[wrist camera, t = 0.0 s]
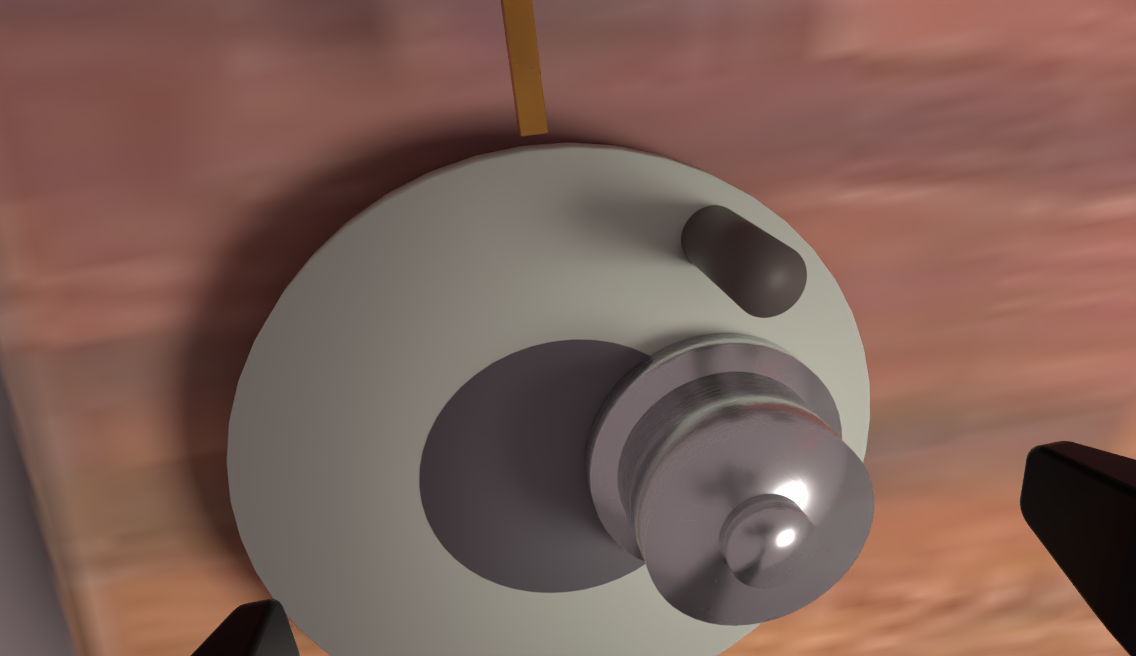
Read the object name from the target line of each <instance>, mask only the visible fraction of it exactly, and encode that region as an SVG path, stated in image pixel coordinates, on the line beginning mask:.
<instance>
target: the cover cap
mask: <svg viewBox="0 0 1136 656" xmlns="http://www.w3.org/2000/svg"><path fill="white" fill-rule="evenodd" d="M585 473H586V478H587V483H588V487H589V490H590V493H591V496H592V499H593V502H594V505H595V508H596V511H597V513H598V516H599V519H600V520H601V522H602V524H603V526H604V527H605V529H606V531H607V532H608V533H609V534H610V536H611V537H612V538H613V539H614V541H615V542H617V543H618V544H619V545H620V546H621V547H622V548H623V549H624V550H626V551H627V552H629V553H630V554H632V555H633V556H635V557H636V558H638V559H640V560H642V561H644V562H645V564H646V567H647V569H648V572H649V574H650V577H651V580H652V581H653V583H654V585H655V587H656V589H657V590H658V591H659V593H660V594H661V595H662V596H663V598H664V599H665V600H666V601H667V602H668V603H669V604H671V605H672V606H673V607H674V608H676V609H677V610H679V611H680V612H682V613H683V614H685V615H687V616H690V617H692V618H694V619H696V620H700V621H703V622H706V623H711V624H717V625H729V626H738V625H751V624H757V623H762V622H766V621H770V620H774V619H777V618H780V617H782V616H785V615H788V614H790V613H792V612H794V611H796V610H798V609H800V608H802V607H804V606H806V605H808V604H809V603H811V602H812V601H814V600H816V599H817V598H818V597H820V596H821V595H822V594H824V593H825V592H826V591H828V590H829V589H830V588H831V587H832V586H833V585H834V584H835V583H837V582H838V581H839V580H840V579H841V577H842V576H843V575H844V574H845V573H846V572H847V571H848V570H849V568H850V567H851V565H852V564H853V563H854V561H855V560H856V559H857V557H858V555H859V553H860V552H861V550H862V548H863V546H864V544H865V542H866V539H867V537H868V535H869V531H870V528H871V524H872V520H873V513H874V493H873V487H872V483H871V480H870V477H869V474H868V472H867V470H866V468H865V466H864V464H863V463H862V461H861V460H860V459H859V457H858V456H857V455H856V454H855V452H854V451H853V450H852V449H851V448H850V447H849V446H848V445H847V444H846V443H845V442H844V441H843V440H842V427H841V422H840V416H839V412H838V410H837V407H836V404H835V401H834V399H833V397H832V396H831V394H830V392H829V390H828V388H827V387H826V386H825V385H824V383H823V382H822V381H821V380H820V378H819V377H818V376H817V375H816V374H814V373H813V372H812V371H811V370H810V369H809V368H808V367H807V366H806V365H805V364H803V363H802V362H801V361H800V360H799V359H798V358H797V357H796V356H795V355H794V354H792V353H791V352H789V351H788V350H786V349H785V348H783V347H782V346H780V345H778V344H775V343H773V342H771V341H769V340H766V339H763V338H759V337H756V336H752V335H746V334H739V333H716V334H707V335H701V336H696V337H692V338H688V339H685V340H682V341H679V342H677V343H674V344H671V345H669V346H667V347H665V348H663V349H661V350H659V351H657V352H655V353H653V354H652V355H650V356H649V357H647V358H646V359H644V360H643V361H641V362H640V363H638V364H637V365H636V366H635V367H633V368H632V369H631V370H630V371H629V372H628V373H626V374H625V375H624V376H623V377H622V379H621V380H620V381H619V382H618V383H617V384H616V385H615V386H614V387H613V388H612V390H611V391H610V393H609V394H608V395H607V397H606V398H605V399H604V401H603V403H602V404H601V406H600V408H599V410H598V412H597V413H596V415H595V418H594V420H593V423H592V425H591V428H590V431H589V435H588V439H587V443H586V452H585Z"/></svg>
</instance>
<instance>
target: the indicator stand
mask: <svg viewBox="0 0 1136 656" xmlns="http://www.w3.org/2000/svg"><path fill="white" fill-rule="evenodd" d="M501 7H502V14H503V22H504V29H505V36H506V44H507V51H508V58H509V66H510V73H511V80H512V88H513V95H514V103H515V110H516V117H517V125H518V132H519V134H520V135H521V136H528V135H536V134H543V133H548V129H547V121H546V113H545V104H544V96H543V88H542V79H541V71H540V63H539V54H538V46H537V38H536V29H535V21H534V13H533V5H532V0H501Z"/></svg>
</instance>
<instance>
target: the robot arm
mask: <svg viewBox="0 0 1136 656" xmlns="http://www.w3.org/2000/svg"><path fill="white" fill-rule="evenodd" d="M1020 507H1021V511H1022V514H1023V517H1024V519H1025V521H1026V522H1027V524H1028V525H1029V526H1030V528H1031V529H1032V530H1033V532H1034V533H1035V534H1036V536H1037V537H1038V538H1039V540H1040V541H1041V542H1042V544H1043V545H1044V546H1045V548H1046V549H1047V550H1048V552H1049V553H1050V554H1051V556H1052V557H1053V558H1054V560H1055V561H1056V562H1057V564H1058V565H1059V566H1060V568H1061V569H1062V570H1063V572H1064V573H1065V574H1066V576H1067V577H1068V578H1069V580H1070V581H1071V582H1072V584H1073V585H1074V586H1075V588H1076V589H1077V590H1078V592H1079V593H1080V594H1081V596H1082V597H1083V598H1084V600H1085V601H1086V602H1087V604H1088V605H1089V606H1090V608H1091V609H1092V610H1093V612H1094V613H1095V614H1096V615H1097V617H1098V618H1099V619H1100V621H1101V622H1102V623H1103V624H1104V626H1105V627H1106V628H1107V629H1108V631H1109V632H1110V633H1111V634H1112V635H1113V636H1114V638H1115V639H1116V640H1117V641H1118V642H1119V643H1120V645H1121V646H1122V647H1123V648H1124V649H1125V650H1126V651H1127V653H1128V654H1129V655H1130V656H1136V460H1135V459H1131V458H1127V457H1124V456H1120V455H1117V454H1113V453H1110V452H1106V451H1102V450H1099V449H1095V448H1092V447H1088V446H1085V445H1081V444H1077V443H1074V442H1070V441H1059V442H1054V443H1049V444H1044V445H1039V446H1036V447H1034V448H1032V449H1031V451H1030V452H1029V453H1028V455H1027V459H1026V465H1025V472H1024V478H1023V484H1022V491H1021V497H1020ZM191 656H300V655H299V651H298V648H297V645H296V642H295V639H294V636H293V633H292V631H291V628H290V625H289V622H288V619H287V616H286V613H285V610H284V608H283V606H282V604H281V603H280V602H279V601H278V600H276V599H267V600H262V601H257V602H252V603H247V604H243V605H240V606H239V607H237V608H236V609H235V610H234V611H233V612H232V613H231V614H230V615H229V616H228V617H227V618H226V619H225V620H224V621H223V622H222V623H221V624H220V625H219V626H218V627H217V629H216V630H215V631H214V632H213V633H212V634H211V635H210V636H209V637H208V638H207V639H206V640H205V641H204V642H203V643H202V644H201V645H200V646H199V647H198V649H197V650H196V651H195V652H194V653H193V654H192V655H191Z"/></svg>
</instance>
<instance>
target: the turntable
mask: <svg viewBox="0 0 1136 656" xmlns="http://www.w3.org/2000/svg"><path fill="white" fill-rule="evenodd" d="M716 333H739V334H746V335H752V336H756V337H759V338H763V339H766V340H769V341H771V342H773V343H775V344H778V345H780V346H782V347H783V348H785V349H786V350H788V351H789V352H791V353H792V354H794V355H795V356H796V357H797V358H798V359H799V360H800V361H801V362H802V363H803V364H805V365H806V366H807V367H808V368H809V369H810V370H811V371H812V372H813V373H814V374H816V375H817V376H818V377H819V378H820V380H821V381H822V382H823V383H824V385H825V386H826V387H827V388H828V390H829V392H830V394H831V396H832V397H833V399H834V401H835V404H836V407H837V410H838V412H839V416H840V422H841V427H842V440H843V441H844V442H845V443H846V444H847V445H848V446H849V447H850V448H851V449H852V450H853V451H854V452H855V454H856V455H857V456H858V457H859V459H860V460H861V461H862V463H863V460H864V456H865V452H866V445H867V437H868V429H869V421H870V391H869V378H868V371H867V365H866V359H865V353H864V347H863V344H862V341H861V338H860V335H859V332H858V329H857V326H856V323H855V320H854V316H853V314H852V312H851V310H850V308H849V306H848V304H847V302H846V300H845V298H844V296H843V294H842V292H841V290H840V288H839V286H838V284H837V282H836V280H835V279H834V277H833V276H832V275H831V273H830V272H829V270H828V269H827V268H826V266H825V265H824V263H823V262H822V261H821V259H820V258H819V256H818V255H817V254H816V252H815V251H814V250H813V249H812V248H811V247H810V246H809V245H808V244H807V242H806V241H805V240H804V239H803V238H802V237H801V236H800V235H799V234H798V233H797V232H796V231H795V230H794V229H793V228H792V227H791V226H790V225H789V224H788V223H787V222H786V221H784V220H783V219H782V218H780V217H779V216H778V215H776V214H775V213H774V212H772V211H771V210H770V209H768V208H767V207H766V206H764V205H763V204H761V203H760V202H759V201H757V200H756V199H755V198H753V197H752V196H750V195H748V194H746V193H745V192H743V191H741V190H739V189H737V188H735V187H733V186H731V185H730V184H728V183H726V182H724V181H722V180H720V179H718V178H716V177H714V176H713V175H711V174H709V173H707V172H705V171H703V170H701V169H699V168H696V167H694V166H691V165H688V164H685V163H682V162H680V161H677V160H674V159H671V158H668V157H666V156H663V155H660V154H656V153H651V152H646V151H641V150H636V149H631V148H626V147H621V146H616V145H603V144H587V143H571V142H567V143H553V144H540V145H526V146H519V147H514V148H509V149H504V150H500V151H495V152H490V153H485V154H481V155H476V156H473V157H470V158H467V159H464V160H461V161H458V162H456V163H453V164H450V165H447V166H444V167H442V168H439V169H436V170H433V171H430V172H428V173H426V174H424V175H422V176H420V177H418V178H416V179H414V180H412V181H411V182H409V183H407V184H405V185H403V186H401V187H399V188H397V189H395V190H393V191H391V192H389V193H387V194H386V195H384V196H383V197H381V198H380V199H378V200H377V201H376V202H374V203H373V204H371V205H370V206H368V207H367V208H366V209H364V210H363V211H361V212H360V213H358V214H357V215H356V216H354V217H353V218H351V219H350V220H348V221H347V222H346V223H345V224H344V225H343V226H342V227H341V228H340V229H339V230H338V231H337V232H335V233H334V234H333V235H332V236H331V237H330V238H329V239H328V240H327V241H326V242H325V243H324V244H323V245H321V246H320V247H319V248H318V249H317V250H316V251H315V252H314V253H313V254H312V256H311V257H310V258H309V259H308V261H307V262H306V263H305V264H304V266H303V267H302V268H301V269H300V270H299V272H298V273H297V274H296V275H295V277H294V278H293V279H292V280H291V282H290V283H289V284H288V285H287V287H286V288H285V290H284V291H283V293H282V295H281V297H280V298H279V300H278V302H277V303H276V305H275V307H274V308H273V310H272V312H271V314H270V315H269V317H268V319H267V320H266V322H265V324H264V325H263V327H262V329H261V331H260V332H259V334H258V336H257V337H256V339H255V341H254V343H253V346H252V348H251V351H250V353H249V356H248V358H247V361H246V363H245V366H244V368H243V371H242V373H241V376H240V378H239V381H238V385H237V389H236V394H235V398H234V402H233V407H232V411H231V416H230V420H229V431H228V447H227V472H228V482H229V491H230V501H231V505H232V509H233V512H234V516H235V520H236V523H237V527H238V531H239V535H240V538H241V540H242V542H243V545H244V547H245V549H246V551H247V554H248V556H249V558H250V560H251V562H252V565H253V567H254V569H255V571H256V573H257V574H258V576H259V578H260V579H261V581H262V582H263V584H264V585H265V587H266V588H267V590H268V591H269V593H270V594H271V596H272V598H273V599H276V600H278V601H279V602H280V603H281V604H282V606H283V608H284V610H285V613H286V615H287V616H288V617H289V618H290V619H291V620H292V621H293V623H294V624H295V625H296V626H297V627H298V628H299V629H300V630H301V631H302V632H303V633H304V634H306V635H307V636H308V637H309V638H310V639H312V640H313V641H314V642H315V643H316V644H317V645H319V646H320V647H321V648H322V649H323V650H324V651H326V652H327V653H328V654H330V655H331V656H716V655H718V654H720V653H721V652H723V651H725V650H726V649H728V648H729V647H731V646H732V645H734V644H735V643H736V642H738V641H739V640H740V639H742V638H743V637H744V636H746V635H747V634H748V633H749V632H751V631H752V630H753V629H755V628H756V627H757V626H759V625H760V624H761V623H757V624H751V625H738V626H729V625H717V624H711V623H706V622H703V621H700V620H696V619H694V618H692V617H690V616H687V615H685V614H683V613H682V612H680V611H679V610H677V609H676V608H674V607H673V606H672V605H671V604H669V603H668V602H667V601H666V600H665V599H664V598H663V596H662V595H661V594H660V593H659V591H658V590H657V589H656V587H655V585H654V583H653V581H652V580H651V577H650V574H649V572H648V569H647V567H646V564H645V562H644V561H642V560H640V559H638V558H636V557H635V556H633V555H632V554H630V553H629V552H627V551H626V550H624V549H623V548H622V547H621V546H620V545H619V544H618V543H617V542H615V541H614V539H613V538H612V537H611V536H610V534H609V533H608V532H607V531H606V529H605V527H604V526H603V524H602V522H601V520H600V519H599V516H598V513H597V511H596V508H595V505H594V502H593V499H592V496H591V493H590V490H589V487H588V483H587V478H586V473H585V452H586V443H587V439H588V435H589V431H590V428H591V425H592V423H593V420H594V418H595V415H596V413H597V412H598V410H599V408H600V406H601V404H602V403H603V401H604V399H605V398H606V397H607V395H608V394H609V393H610V391H611V390H612V388H613V387H614V386H615V385H616V384H617V383H618V382H619V381H620V380H621V379H622V377H623V376H624V375H625V374H626V373H628V372H629V371H630V370H631V369H632V368H633V367H635V366H636V365H637V364H638V363H640V362H641V361H643V360H644V359H646V358H647V357H649V356H650V355H652V354H653V353H655V352H657V351H659V350H661V349H663V348H665V347H667V346H669V345H671V344H674V343H677V342H679V341H682V340H685V339H688V338H692V337H696V336H701V335H707V334H716Z"/></svg>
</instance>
